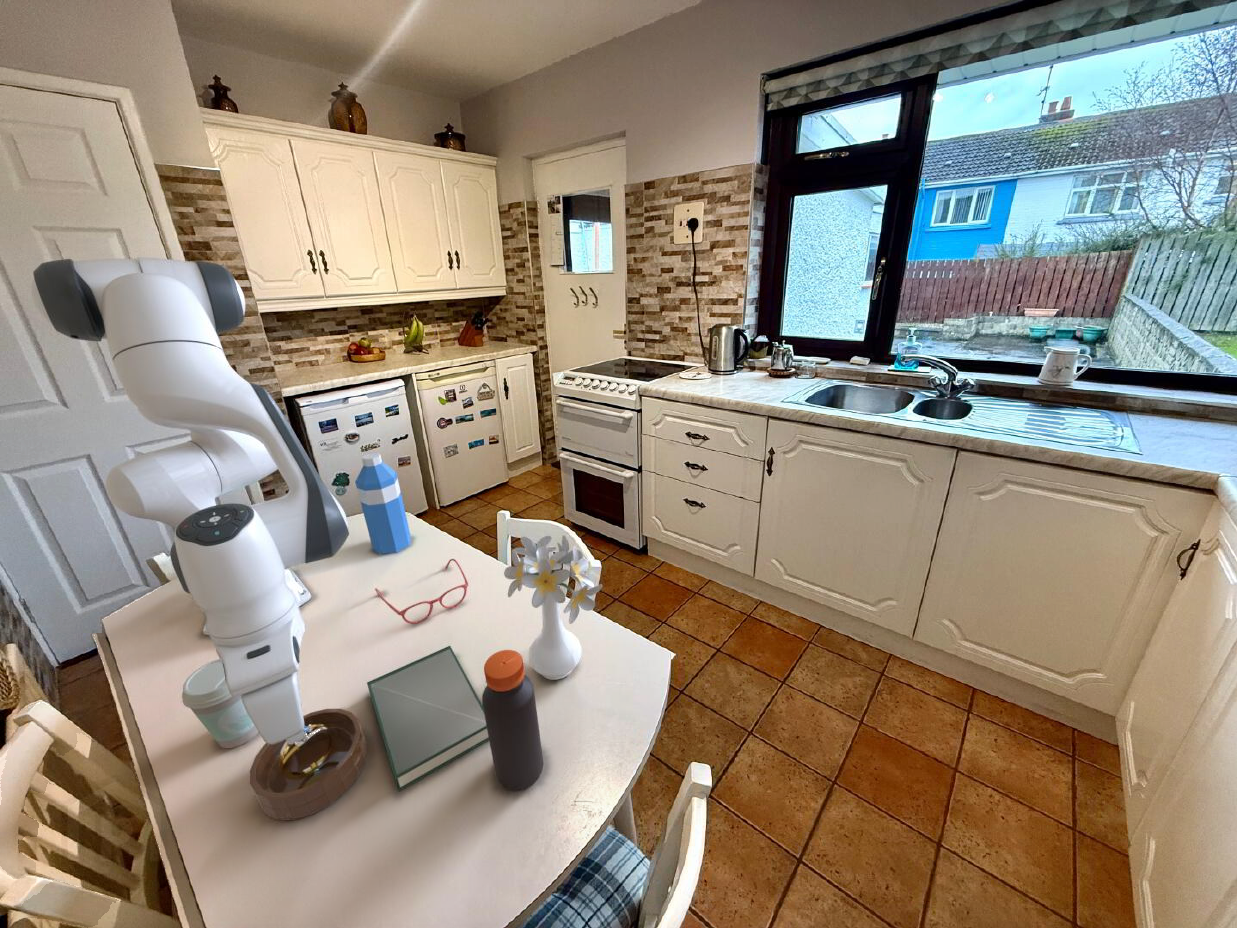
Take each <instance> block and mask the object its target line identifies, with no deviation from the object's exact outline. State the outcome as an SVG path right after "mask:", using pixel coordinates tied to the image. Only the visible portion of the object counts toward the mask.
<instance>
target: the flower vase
mask: <svg viewBox="0 0 1237 928" xmlns="http://www.w3.org/2000/svg"><path fill="white" fill-rule="evenodd" d="M551 541H552V536H551V535H546V536H544V537H543V536H542V538H540V539H539V540H538V541H537V542H536V543H535V541H534V540H533V539H532V538H531V537H530V536H529V537H528V536H522V537H520V542H521V544H522V546H523V547H515V548H513V549H512V550H511V560H512V561H511V562H512V564H513V566H507V567H506V568H505V569H504V570H503V576H504V577H505V579H507V580H512V582H511V583H510V585H509V587H508V591H507V597H508V598H511V597H512V596H513V595H514V593H515V591H516V590H517V591H518V592H521V591H522V588H523V586H524V587H526V588H529V589H535V590H534V592H533V594H532V597H531V606H532V607H533V608H535V609H537V608H539V607H541V617H542V619H541V620H542V628H541V630H540V633H539V634H538V635H537V636H536V637H535V638H534V639H533V641H532V643H531V644H530V646H529V650H528V662H529V665H530V666H531V668H532V669H533V670H534V671H535V672H536V673H537V674H539V675H541V676H542V677H543V678H545V679H547V680H551V681H557V680H562V679H564V678H566V677H567V676H569V675H570V674H571V672H572V671H573V670H574V669H575V668H576V666H578V664H579V663H580V660H581V658H582V651H583V650H582V646H581V642H580V640H579V639H578V637H577V636H576V635H575V634H574V633H573V632H571V631H569V630H567V629H566V628H565V626H564V624H563V620H562V614H561V606H560V604H563V603H565V602H566V595H565V592H564V591H563V590H562V588H561V587H564V588H566V589H567V590H568V591H569V592H570V594H571V597H570V599H569V601H568V602H567V604H566V606H565V607H564V609H563V614H567V613H569V617H568V624H569V625H572V624H573V623H574V622H575V621H576V620H577V618H578V616H579V614H580V608H581V609H582V610H584V611H586V612H588V611H589V612H590V611H593V610H594V609H595V607H596V602H595V601H594V599H593V598H591V597H592V596H594V595H596V594H597V593H599V592H600V591H601V590H602V588H603V584H598V585H595V583H594V582H593V580H592V579H591V578H590V576H589V575H587V574H586V573H587V570H588V568H589V561H588V558H586V557H584V554H583V553H582V552H581V551H580V550H578V549H577V547H576V546H575V545H574V546H573V547H572V550H570V544H569V543H570V542H569V540H568V538H567V537H566V536H565V535H562V536H561V543H559V542H556V545H557V547H556V546H549V544H550V542H551ZM557 548H558V551H556V549H557ZM554 551H556V552H555V553H553V554H552V555H550V553H551V552H554ZM518 554H519V555H523V556H522V557H519V555H518ZM526 565H527V566H529V567H530V568H529V569H528V570H527V568H526ZM563 565H564V566H567V567H569V569H565V568H564V569H563ZM569 578H572V579H573V580H574V581H575V582H576V583H577V584H578V585H579V586H580V587H581V588H579V589H578V590H576V591H575V590H574V589H573V588H571V586H570V585H568V584H566V583H564V582H566V581H567V580H568V579H569Z"/></svg>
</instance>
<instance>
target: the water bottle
mask: <svg viewBox="0 0 1237 928" xmlns="http://www.w3.org/2000/svg"><path fill="white" fill-rule="evenodd" d="M361 461H362V465H363V466H362V467H361V470H360V471H359V474H358V475H357V478H356V479H355V481H354V482H355V487H356V490H357V494H358V498H359V502H360V505H361V509H362V512H363V516H364V520H365V524H366V528H367V531H368V535H369V539H370V543H371V547H372V550H373V551H374V552H376V553H378V554H380V555H387V554H388V555H389V554H394V553H398V552H400V551H402V550H403V549H405V548H407V547H409V546H410V545H411V541H412V535H411V532H410V526H409V523H408V517H407V514H406V509H405V505H404V501H403V496H402V491H401V487H400V483H399V482H400V481H399V479H398V473H397V470H394V469H393V468H392V467H390V466H389V465H388V464H386V463H385V462H384V461H383V460H382V456H381V453H379V452H369V453H366V454H363V455H362V457H361Z"/></svg>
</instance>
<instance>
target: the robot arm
mask: <svg viewBox="0 0 1237 928" xmlns="http://www.w3.org/2000/svg"><path fill="white" fill-rule="evenodd" d="M32 274H33V279H32V282H31V297H32V300H33V302H34V305H35V307H36V308H37V310H38V312H39V314H41V316H42V317H43V318H44V319H45V320H46V321H47V322H48V323H49V324H50V325H51V326H52V327H53V328H54V329H55V331H56V332H58V333H60V334H62V335H64V336H66V337H68V338H70V339H72V340H73V339H74V340H78V341H79V340H80V341H88V342H89V341H90V342H100V343H101V342H102V340H106V341H107V346H108V350H109V354H110V357H111V360H112V363H113V366H114V369H115V372H116V375H117V377H118V379H119V382H120V384H121V386H122V388H123V390H124V392H125V393H126V395H127V397H128V399H129V400H130V402H131V403H132V404H133V405H135V406H136V408H137V410H138V412H139V414H140V415H141V416H142V417H143V418H145V419H146V420H147V421H149V422H151V423H153V424H155V425H158V426H161V427H165V428H171V429H177V430H187V431H189V432H190V435H191V439H189V440H188V441H185V442H182V443H177V444H174V445H170V446H166V447H162V448H159V449H155V450H152V451H148V452H145V453H142V454H139V455H138V456H135V457H132V458H130V459H128V460H126V461H123V462H122V463H119V464H118V465H115V466H113V467H112V468H111V469H110V471H109V472H108V474H107V476H106V481H105V491H106V495H107V497H108V500H109V501H110V502H111V504H113V506H114V507H116V508H117V509H118V510H119V511H120V512H123V513H124V514H126V515H127V516H130V517H134V518H138V519H142V520H143V519H144V520H150V521H156V522H159V523H162V524H164V525H167V526H169V527H172V528H174V535H173V540H174V541H173V543H172V545H171V547H170V551H169V552H170V553H169V554H170V562H171V565H172V568H173V570H174V572H175V574H176V576H177V578H178V581H179V583H180V585H181V587H182V590H183V591H184V592H186V593H187V594H188V595H190V596H191V599H192V601H193V603H194V604H195V605H196V606H197V607H198V608H199V609H200V610H201V611H202V612H203V613H204V616H205V623H204V624H203V627H202V634H203V635H204V636H209V637H210V639H211V642H212V644H213V646H214V648H215V649H214V650H215V652H216V654H217V656H218V659H220V661H221V663H222V665H223V668H224V673H225V679H226V683H227V687H228V690H229V692H230V694H231V695H232V696H233V697H237V696H241V700H242V702H243V705H244V707H245V709H246V711H247V713H248V715H249V717H250V719H251V720H252V722H253V724H254V725H255V727H256V729H257V730H258V734H259V736H260V738H261V739H262V740H263V741H264V743H268V744H271V745H274V744H277V743H279V742H281V741H284V740H286V741H287V743H288V744H294V743H296V742H298V741H300V740H302V739H303V738H304V730H303V729H304V718H303V716H304V713H303V704H302V698H301V697H302V696H301V688H300V681H299V673H298V672H299V670H300V662H301V661H300V652H301V647H302V646H301V645H302V641H303V637H304V635H305V633H306V623H305V620H304V617H303V615H302V612H301V609H300V607H301V606H303V605H305V604H306V603H307V602H308V601H310V600H311V599H312V595H311V593H310V591H309V590H308V589H307V587H306V586H305V585H304V583H303V582H302V581H301V580H300V578H299V577H298V575H297V574H296V573H295V571H293V569H291V568H293V567H297V566H300V565H303V564H310V563H315V562H318V561H322V560H325V559H331V558H333V557H335V555H336V554H337V553H338V552H339V551H340V550H341V548H342V547H343V545H344V544H345V543H346V542H347V540H348V538H349V536H350V532H349V531H350V530H349V528H350V527H349V521H348V518H347V515H346V513H345V512H346V511H345V510H344V508H343V507H342V505H341V504H340V502H339V501H338V500H337V498H336V497H335V496H334V495H333V493H332V492H331V491H330V490H329V489H328V487H327V486H326V484H325V483H324V481H323V479H322V478H321V476H320V474H319V473H318V471H317V469H316V467H315V466H314V464H313V462H312V461H311V458H310V457H309V456H308V454H307V452H306V450H305V449H304V446H303V445H302V443H301V441H300V440H299V438H298V437H297V435H296V433H295V431H294V429H293V428H292V426H291V425H290V423H289V421H288V420H287V418H286V417H285V415H284V413H283V412H282V410H281V408H280V407H279V405H278V404H277V402H276V401H275V399H274V398H273V396H272V395H271V394H270V393H269V392H268V391H267V390H266V389H265V388H264V387H263V386H262V385H261V384H258V383H253V382H248V381H247V380H246V379H244V378H243V377H242V376H241V375H240V374H238V373H237V372H236V371H235V370H234V368H233V367H232V366H231V364H230V363H229V361H228V359H227V358H226V357H227V356H226V354H225V351H224V349H223V346H222V343H221V339H220V337H219V336H220V335H221V334H225V333H228V332H231V331H235V330H237V329H238V328H239V327H240V326H241V325H242V324H243V323H244V321H245V313H246V307H247V306H246V298H245V295H244V292H243V289H242V288H241V286H240V284H239V283H238V282H237V280H236V279H235V277H234V276H233V274H232V272H231V271H229V270H228V269H227V268H226V267H225V266H223V264H218V263H215V262H210V261H205V260H197V259H195V261H187V260H181V259H180V260H179V259H171V258H160V257H159V258H158V257H141V256H140V257H138V256H137V257H136V258H103V259H86V260H72V259H71V258H64V259H56V260H49V261H45V262H41V263H40V264H39V265H38V266H37V267H36V268H35V269H34V270H33V273H32ZM218 335H219V336H218ZM277 470H278V472H279V473H280V475H281V476H282V478H283V480H284V481H285V483H286V485H287V487H288V492H287V493H286V494H284V495H283V496H279V497H276V498H272V499H269V500H265V501H261V502H256V503H253V504H249V505H247V504H245V503H244V504H243V503H230V502H229V503H220V504H217V503H216V498H219V497H220V496H222V495H226V494H228V493H231V492H233V491H236V490H239V489H241V488H245V487H248V486H250V485H253V484H256V483H258V482H259V481H261V480H263V479H264V478H266V477H268V476H270V475H271V474H273V473H274V472H277Z"/></svg>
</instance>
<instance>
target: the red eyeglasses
mask: <svg viewBox="0 0 1237 928" xmlns="http://www.w3.org/2000/svg"><path fill="white" fill-rule="evenodd" d="M451 562H454V563H455V565H457V567H458V569H459V570H460V573H461V575H462V577H463V579H464V584H460V585H457V586H455V587H452V588H450V589H448V590H447V591H445V592H444V593H442V594H441V595H440V596H439V597H437V598H435V599H431V600H424V601H420V602H416V603H414V604H412V605H410V606H408V607H405V608H404V609H402V610H398V609H397V608H396V607H395V606H393V605H392V604H391V603H389V601H387V600H386V599H385V598H384V597H383V593H382V592H381V591H380V590H379V589H378V588H377V587H376V588H374V590H375V592H376V594H377V595H378V597H379V598H380V599H381V600H382V601H383V602H384V603H385V604H386V605H387V606H388V607H389V608H390V609H391V610H392V611H393V612H395V613H396V614H397V615H398V616H401V617H402V619H403V621H404V622H406V623H407V624H411V625H417V624H420V623H422V622H425V621H426V620H427V619H428V618H429V617H430V616H431V614H432V612H433V610H434V604H436V603H439V604H440V606H441V607H443V608H444V609H449V610H450V609H454V608H456V607H457V606H458V607H459V605H460V604H461V603H462V602H464V600H465V597H467V596H466V595H467V592H468V586H469V581H468V579H467V577H466V575H465V572H464V571H463V569H462V567H461V566H460V564H459V562H458V561H457V560H456V559H455V558H451V559H449V560H448V562H447V563H446V565H445V570H448V569H449V566H450V563H451ZM460 588H463V595H462V597H461V598H460V600H459V601H458V602H457V603H456V604H454V605H450V606H447V605H445V604H443V598H444V597H445V596H446V595H447V594H449V593H450V592H453V591H455V590H457V589H460ZM423 604H428V605H429V611H428V613H427V614H426V615H425V616H424V618H422V619H420V620H418V621H410V620H408V619H407V618H406V616H405V615H406V613H407V611H409V610H410V609H412V608H414V607H416V606H420V605H423Z"/></svg>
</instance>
